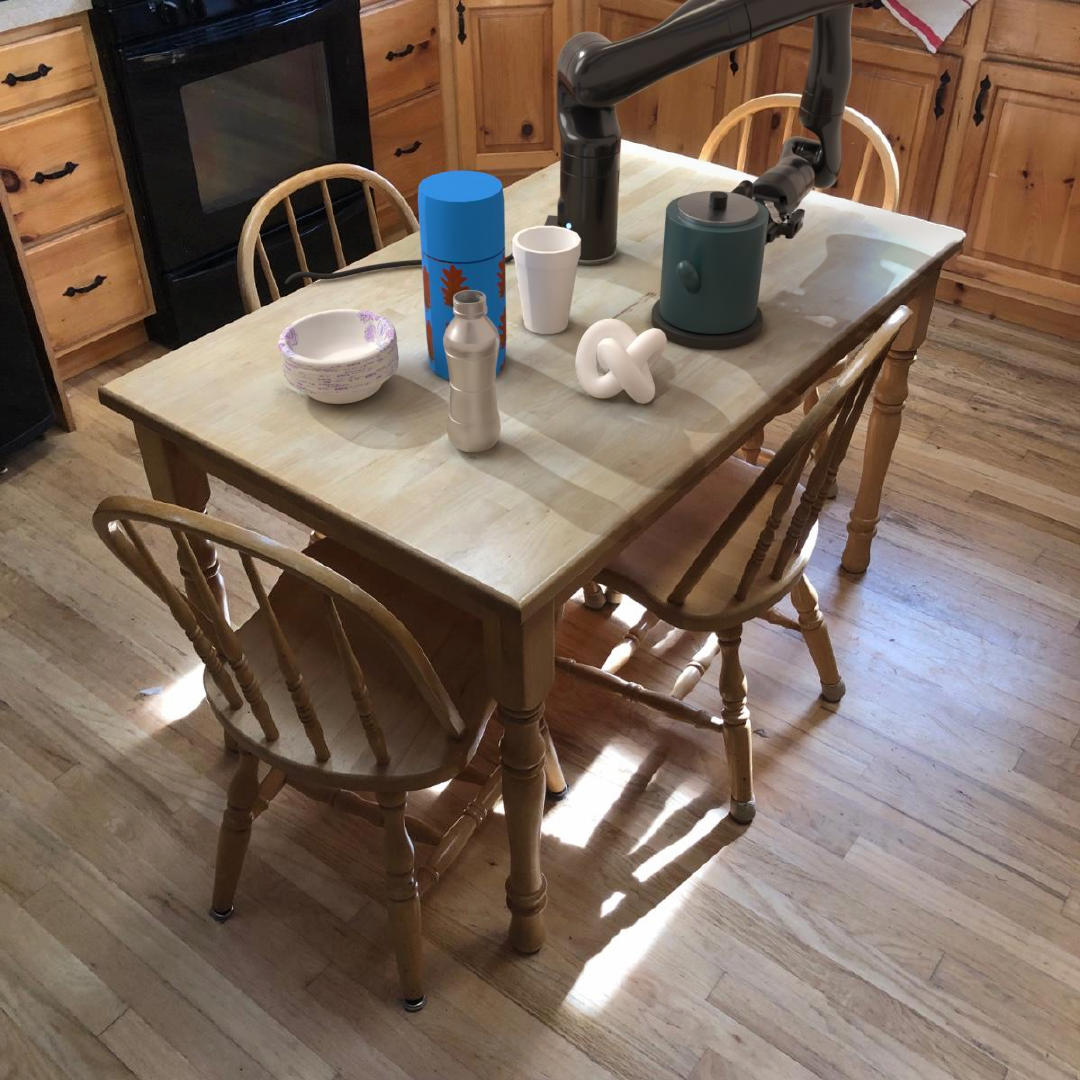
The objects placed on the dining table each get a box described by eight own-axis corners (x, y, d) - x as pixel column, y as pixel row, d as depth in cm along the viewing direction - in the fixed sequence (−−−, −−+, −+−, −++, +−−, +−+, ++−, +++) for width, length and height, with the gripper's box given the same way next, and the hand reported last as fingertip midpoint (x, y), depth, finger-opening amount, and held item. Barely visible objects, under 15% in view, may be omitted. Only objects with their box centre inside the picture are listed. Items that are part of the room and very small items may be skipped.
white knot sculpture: (678, 412, 153) (683, 350, 147) (587, 420, 151) (589, 358, 145) (656, 369, 161) (660, 309, 156) (570, 377, 160) (571, 316, 154)
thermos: (496, 386, 158) (492, 205, 142) (418, 378, 159) (406, 198, 144) (513, 348, 166) (512, 173, 151) (440, 340, 168) (430, 167, 152)
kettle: (723, 356, 160) (736, 235, 150) (629, 332, 166) (636, 213, 155) (782, 289, 177) (797, 175, 166) (695, 269, 182) (705, 157, 171)
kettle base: (646, 345, 167) (647, 334, 166) (655, 294, 179) (656, 285, 178) (761, 353, 165) (762, 343, 164) (762, 302, 177) (763, 292, 176)
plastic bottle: (446, 431, 149) (438, 285, 136) (500, 429, 149) (497, 283, 137) (447, 460, 144) (439, 310, 131) (503, 458, 144) (500, 308, 132)
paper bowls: (265, 380, 159) (257, 327, 154) (364, 348, 166) (359, 296, 161) (319, 430, 149) (312, 375, 144) (422, 393, 156) (418, 339, 151)
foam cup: (588, 317, 173) (591, 233, 166) (562, 344, 167) (564, 258, 159) (530, 304, 177) (529, 221, 169) (502, 331, 170) (501, 245, 162)
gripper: (734, 163, 184) (693, 199, 172) (823, 180, 178) (786, 217, 167) (729, 210, 188) (689, 247, 177) (815, 227, 183) (779, 267, 172)
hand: (736, 233), depth 172 cm, fingers open, 8 cm apart
